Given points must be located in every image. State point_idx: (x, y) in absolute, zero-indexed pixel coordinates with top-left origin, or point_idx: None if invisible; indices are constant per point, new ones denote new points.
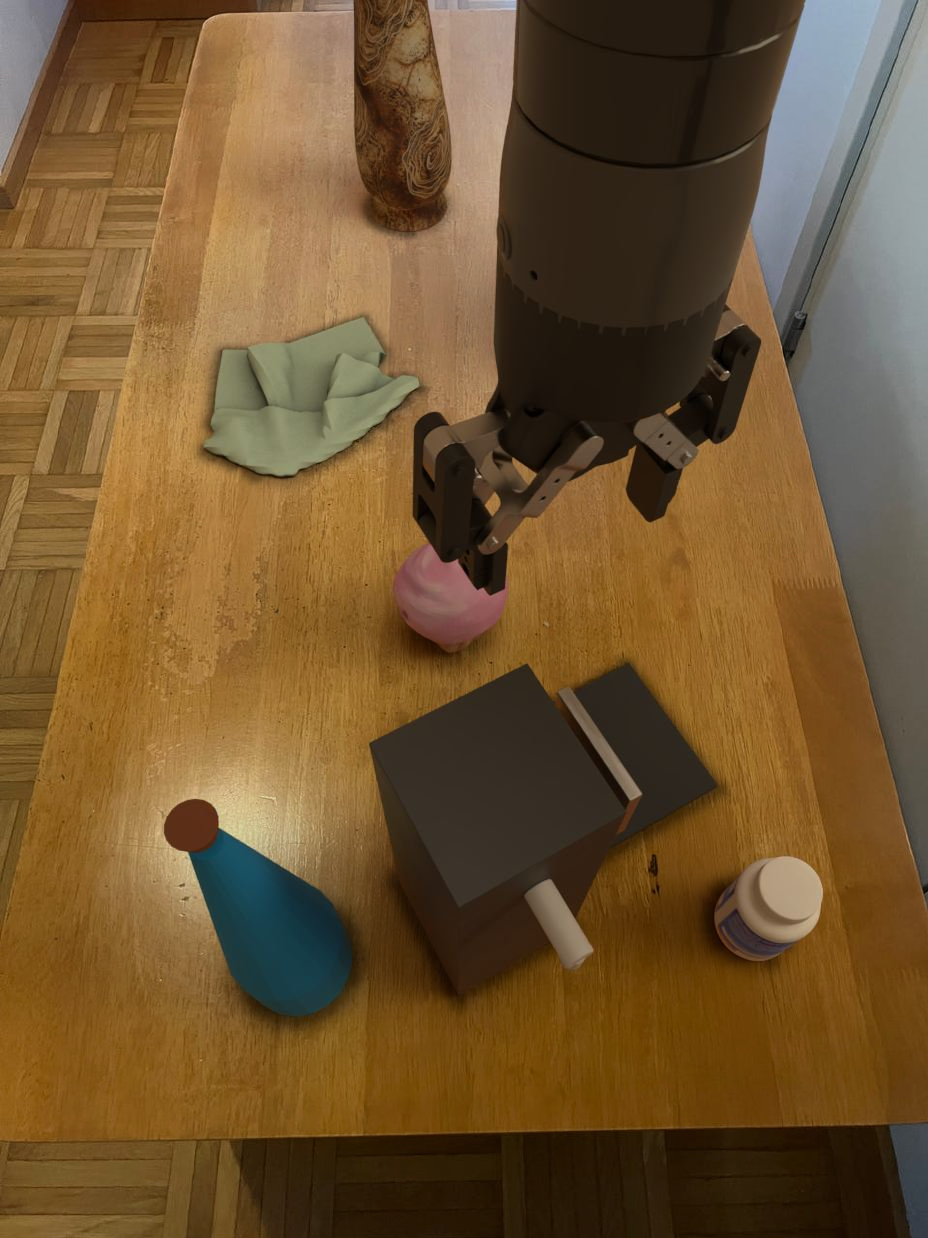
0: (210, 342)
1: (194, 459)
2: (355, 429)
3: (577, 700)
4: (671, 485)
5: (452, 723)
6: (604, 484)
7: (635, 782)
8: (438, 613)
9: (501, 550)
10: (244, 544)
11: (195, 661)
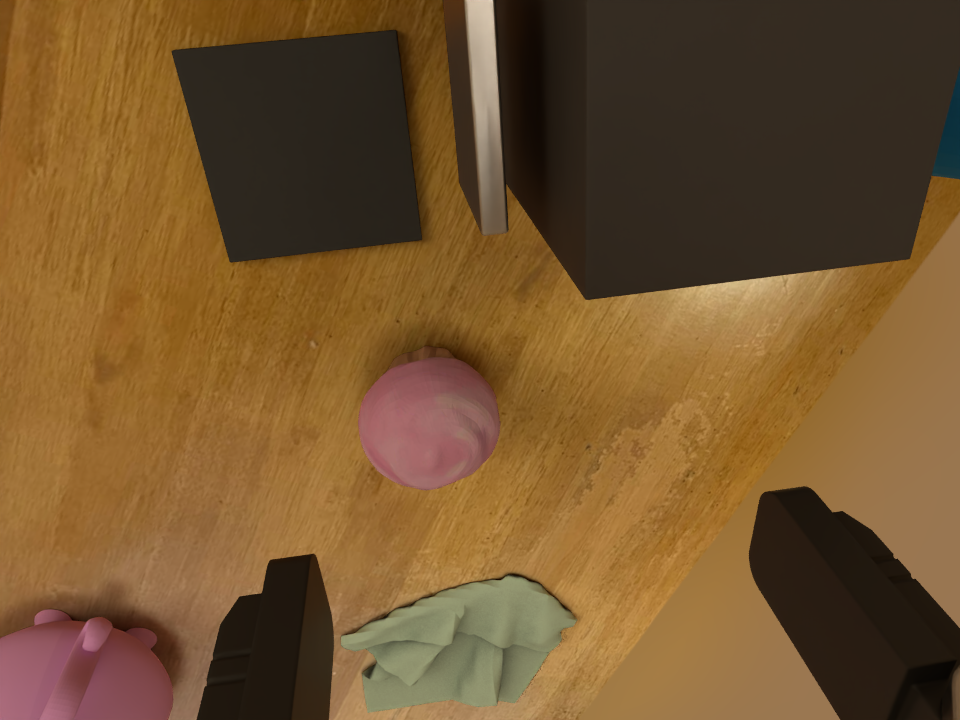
0: (522, 710)
1: (588, 609)
2: (430, 608)
3: (482, 202)
4: (253, 695)
5: (774, 238)
6: (169, 485)
7: (286, 104)
8: (469, 401)
9: (920, 652)
10: (585, 520)
11: (683, 421)
